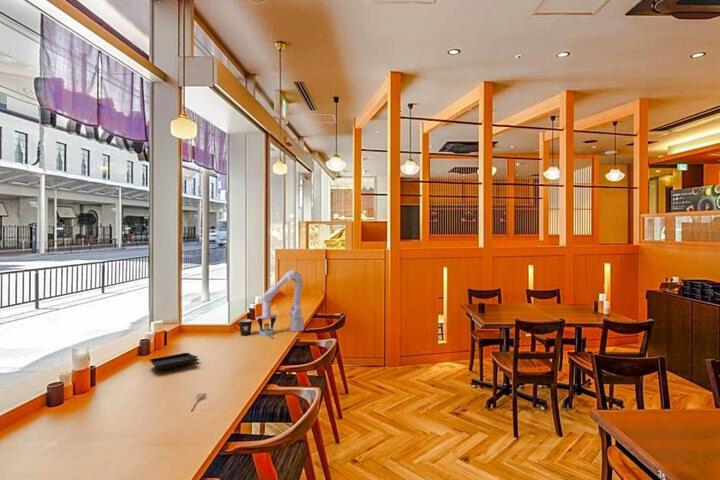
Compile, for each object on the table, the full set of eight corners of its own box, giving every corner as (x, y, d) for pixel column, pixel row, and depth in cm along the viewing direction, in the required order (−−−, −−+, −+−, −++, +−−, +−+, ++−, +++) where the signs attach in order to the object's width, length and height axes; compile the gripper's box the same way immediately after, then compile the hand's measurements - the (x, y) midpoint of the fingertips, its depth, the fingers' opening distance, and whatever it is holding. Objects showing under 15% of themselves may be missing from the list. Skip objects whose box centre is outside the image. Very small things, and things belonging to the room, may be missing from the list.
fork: (184, 419, 170) (184, 413, 169) (201, 393, 190) (201, 387, 190) (191, 419, 170) (191, 413, 170) (207, 393, 190) (207, 387, 190)
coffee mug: (253, 333, 298) (253, 319, 297) (249, 336, 289) (249, 322, 289) (237, 332, 299) (237, 319, 299) (233, 336, 290) (233, 321, 290)
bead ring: (271, 331, 304) (271, 328, 304) (275, 334, 295) (275, 331, 295) (257, 333, 299) (257, 329, 299) (261, 336, 290) (261, 332, 290)
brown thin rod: (268, 335, 292) (268, 334, 292) (269, 335, 292) (269, 334, 292) (272, 339, 283) (272, 337, 283) (274, 338, 283) (274, 337, 283)
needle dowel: (268, 333, 299) (268, 323, 299) (269, 334, 296) (269, 324, 296) (263, 333, 297) (263, 323, 297) (265, 334, 295) (265, 324, 294)
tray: (171, 357, 243) (170, 348, 243) (209, 358, 241) (209, 349, 240) (138, 375, 213) (138, 364, 213) (181, 377, 211) (181, 366, 211)
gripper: (274, 308, 304) (274, 326, 304) (254, 309, 296) (254, 328, 297) (277, 309, 297) (277, 328, 298) (257, 311, 290) (257, 331, 291)
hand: (266, 329), depth 297 cm, fingers open, 7 cm apart
